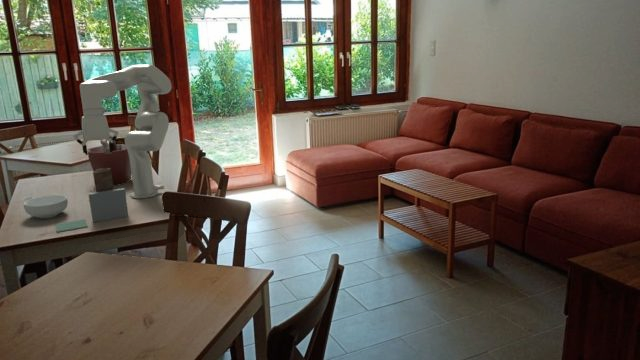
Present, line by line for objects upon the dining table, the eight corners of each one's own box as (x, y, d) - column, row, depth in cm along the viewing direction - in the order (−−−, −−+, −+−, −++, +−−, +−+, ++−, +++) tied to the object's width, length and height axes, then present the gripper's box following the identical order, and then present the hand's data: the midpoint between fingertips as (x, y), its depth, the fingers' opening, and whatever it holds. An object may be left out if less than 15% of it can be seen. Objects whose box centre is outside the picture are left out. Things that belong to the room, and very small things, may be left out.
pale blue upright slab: (127, 214, 215) (124, 188, 212) (128, 216, 213) (124, 189, 210) (92, 220, 208) (88, 193, 205) (93, 222, 207) (88, 194, 204)
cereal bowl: (78, 212, 221) (75, 196, 219) (44, 224, 206) (41, 208, 205) (51, 207, 228) (49, 193, 226) (17, 219, 213) (14, 203, 212)
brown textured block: (110, 216, 213) (103, 171, 208) (95, 215, 215) (88, 170, 210) (120, 210, 221) (114, 167, 215) (106, 210, 222) (99, 166, 217)
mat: (85, 220, 210) (85, 219, 210) (87, 227, 201) (87, 226, 201) (56, 225, 205) (55, 224, 205) (57, 232, 196) (57, 231, 196)
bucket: (124, 188, 257) (117, 140, 251) (81, 188, 258) (74, 141, 251) (141, 175, 281) (135, 132, 274) (102, 176, 281) (95, 132, 275)
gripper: (114, 110, 213) (119, 149, 218) (69, 113, 205) (75, 154, 209) (116, 111, 207) (121, 152, 211) (70, 115, 199) (77, 157, 203)
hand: (98, 153), depth 210 cm, fingers open, 9 cm apart
